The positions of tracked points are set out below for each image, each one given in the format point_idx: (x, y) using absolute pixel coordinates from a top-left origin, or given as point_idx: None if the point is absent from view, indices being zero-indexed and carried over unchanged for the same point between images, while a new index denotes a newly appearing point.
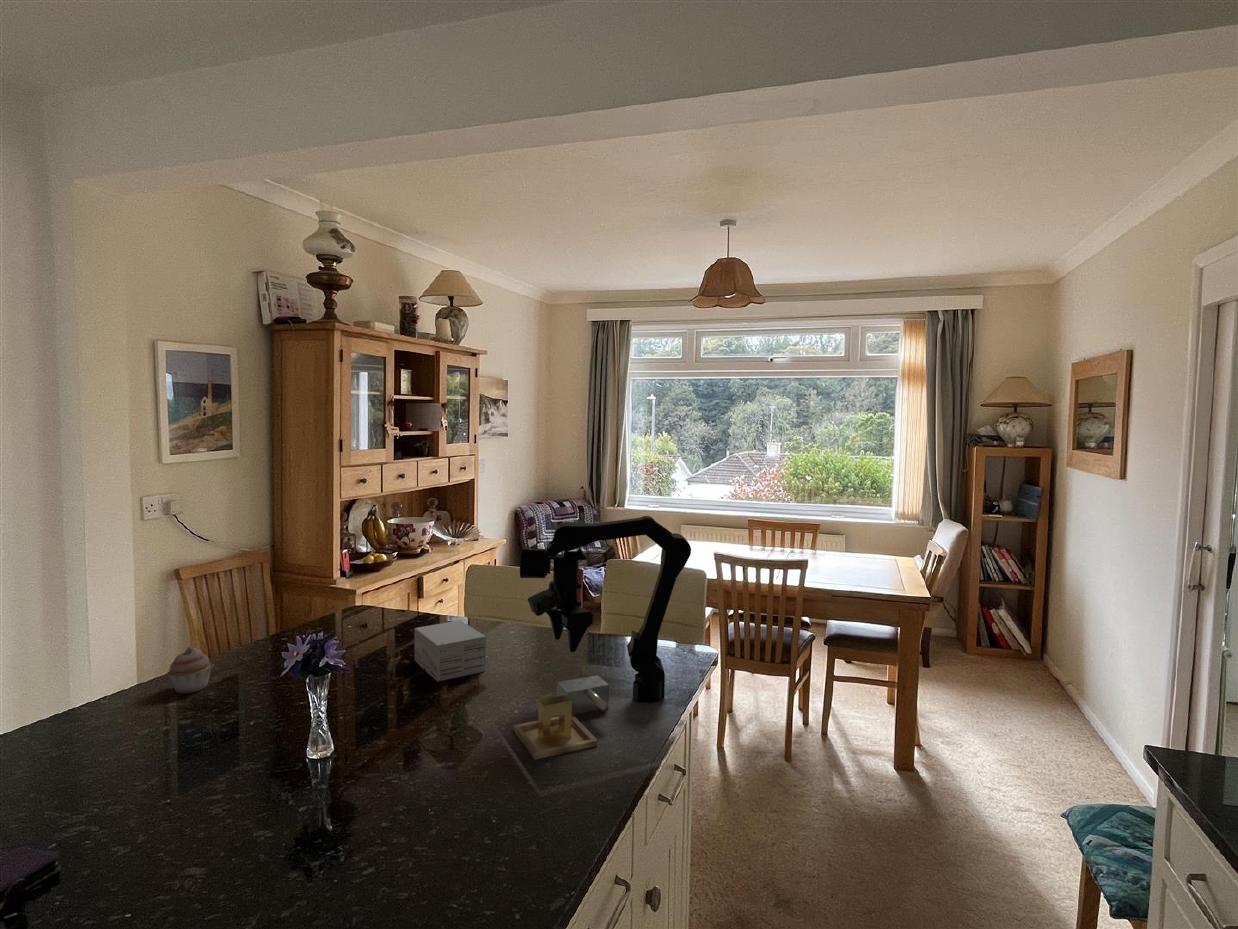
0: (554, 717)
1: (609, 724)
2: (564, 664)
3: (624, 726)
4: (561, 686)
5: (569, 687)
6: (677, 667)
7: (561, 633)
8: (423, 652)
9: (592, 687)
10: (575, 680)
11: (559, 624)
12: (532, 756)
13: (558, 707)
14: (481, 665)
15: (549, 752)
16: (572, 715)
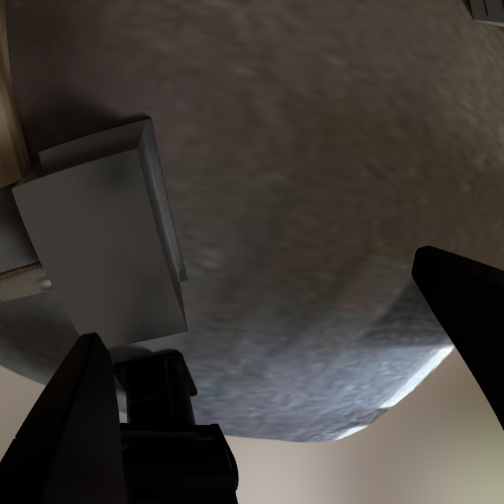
0: (1, 113)
1: None
2: (438, 222)
3: (14, 307)
4: (76, 165)
5: (61, 204)
6: (305, 417)
7: (433, 311)
8: None
9: (60, 298)
10: (142, 242)
11: (490, 345)
12: None
13: None
14: (485, 8)
15: None
16: (9, 180)
